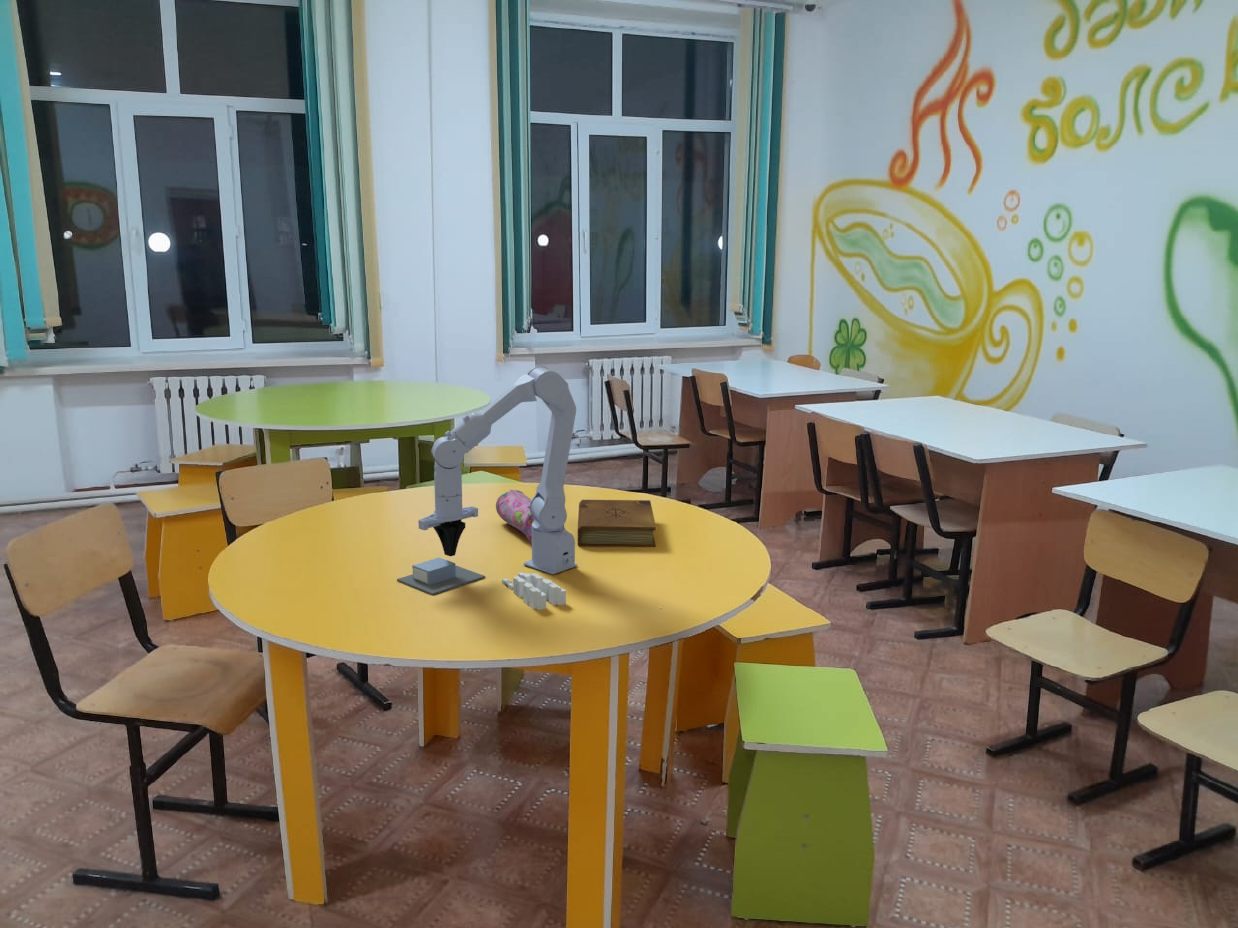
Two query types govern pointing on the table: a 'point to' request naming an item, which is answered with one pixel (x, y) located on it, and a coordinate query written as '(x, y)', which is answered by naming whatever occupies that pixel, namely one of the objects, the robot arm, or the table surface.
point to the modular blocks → (536, 590)
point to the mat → (461, 579)
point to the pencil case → (516, 511)
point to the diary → (616, 523)
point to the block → (434, 571)
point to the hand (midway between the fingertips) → (449, 554)
